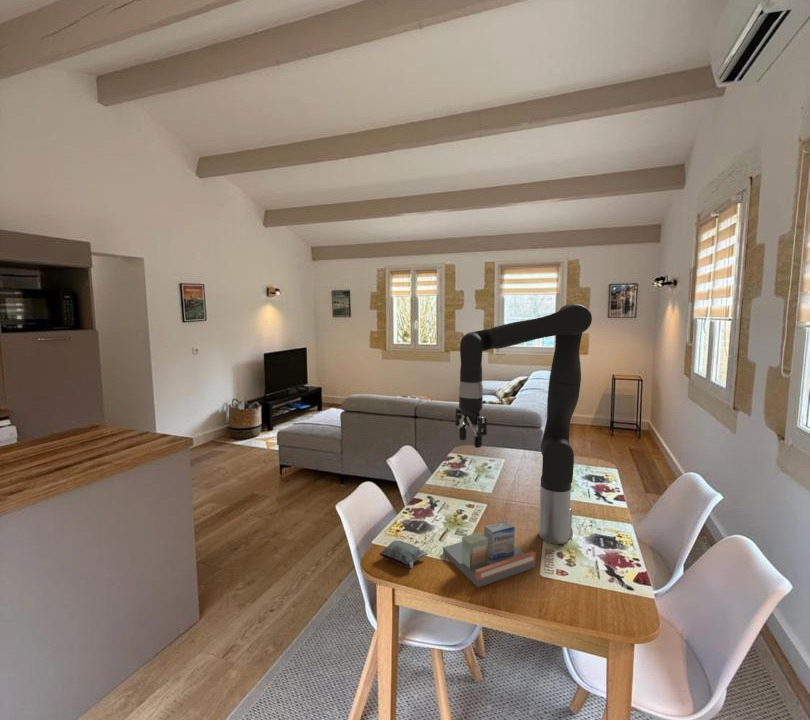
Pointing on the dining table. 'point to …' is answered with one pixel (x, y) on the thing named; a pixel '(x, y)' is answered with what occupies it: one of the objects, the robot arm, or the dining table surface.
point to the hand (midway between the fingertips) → (470, 443)
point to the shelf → (492, 565)
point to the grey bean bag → (403, 553)
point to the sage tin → (474, 551)
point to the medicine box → (500, 539)
